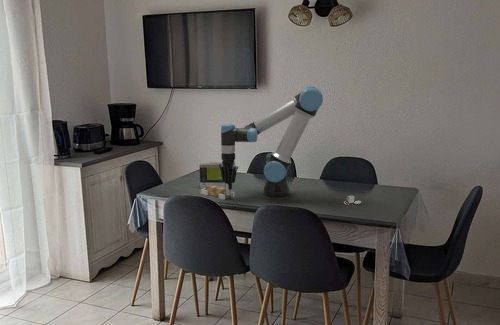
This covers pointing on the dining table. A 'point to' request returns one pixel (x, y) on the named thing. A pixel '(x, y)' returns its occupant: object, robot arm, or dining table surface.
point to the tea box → (210, 174)
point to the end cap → (203, 191)
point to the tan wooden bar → (216, 191)
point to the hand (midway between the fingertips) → (228, 194)
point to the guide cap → (222, 196)
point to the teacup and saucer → (352, 200)
